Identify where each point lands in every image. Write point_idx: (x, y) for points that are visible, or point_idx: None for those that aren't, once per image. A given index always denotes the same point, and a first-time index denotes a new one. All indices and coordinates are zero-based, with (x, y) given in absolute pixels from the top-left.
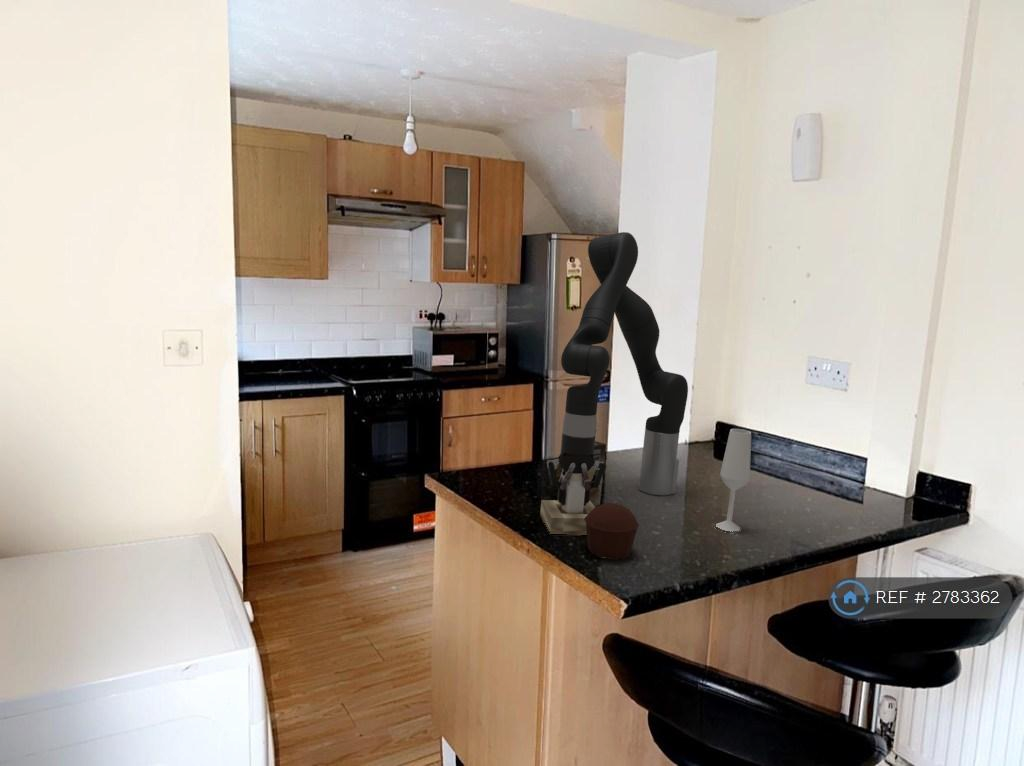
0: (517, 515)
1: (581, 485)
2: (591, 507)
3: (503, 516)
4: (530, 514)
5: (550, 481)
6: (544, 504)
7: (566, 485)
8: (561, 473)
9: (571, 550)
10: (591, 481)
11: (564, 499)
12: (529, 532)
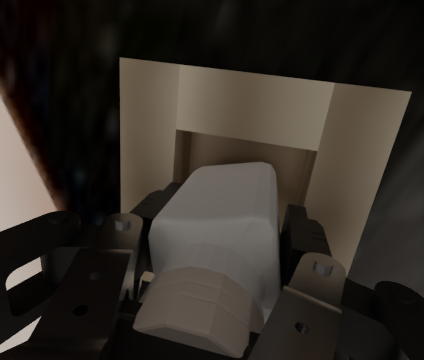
0: (70, 47)
1: (263, 301)
2: (350, 197)
3: (21, 56)
4: (120, 37)
5: (40, 221)
6: (122, 129)
7: (154, 268)
8: (76, 259)
9: None
10: (367, 326)
11: None
12: (92, 209)
